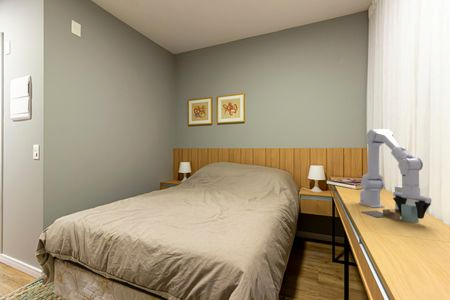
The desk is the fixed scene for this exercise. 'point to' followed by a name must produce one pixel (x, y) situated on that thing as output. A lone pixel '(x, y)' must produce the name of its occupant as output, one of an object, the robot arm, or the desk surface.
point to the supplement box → (409, 201)
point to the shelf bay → (392, 214)
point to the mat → (374, 213)
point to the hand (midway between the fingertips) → (411, 215)
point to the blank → (409, 213)
